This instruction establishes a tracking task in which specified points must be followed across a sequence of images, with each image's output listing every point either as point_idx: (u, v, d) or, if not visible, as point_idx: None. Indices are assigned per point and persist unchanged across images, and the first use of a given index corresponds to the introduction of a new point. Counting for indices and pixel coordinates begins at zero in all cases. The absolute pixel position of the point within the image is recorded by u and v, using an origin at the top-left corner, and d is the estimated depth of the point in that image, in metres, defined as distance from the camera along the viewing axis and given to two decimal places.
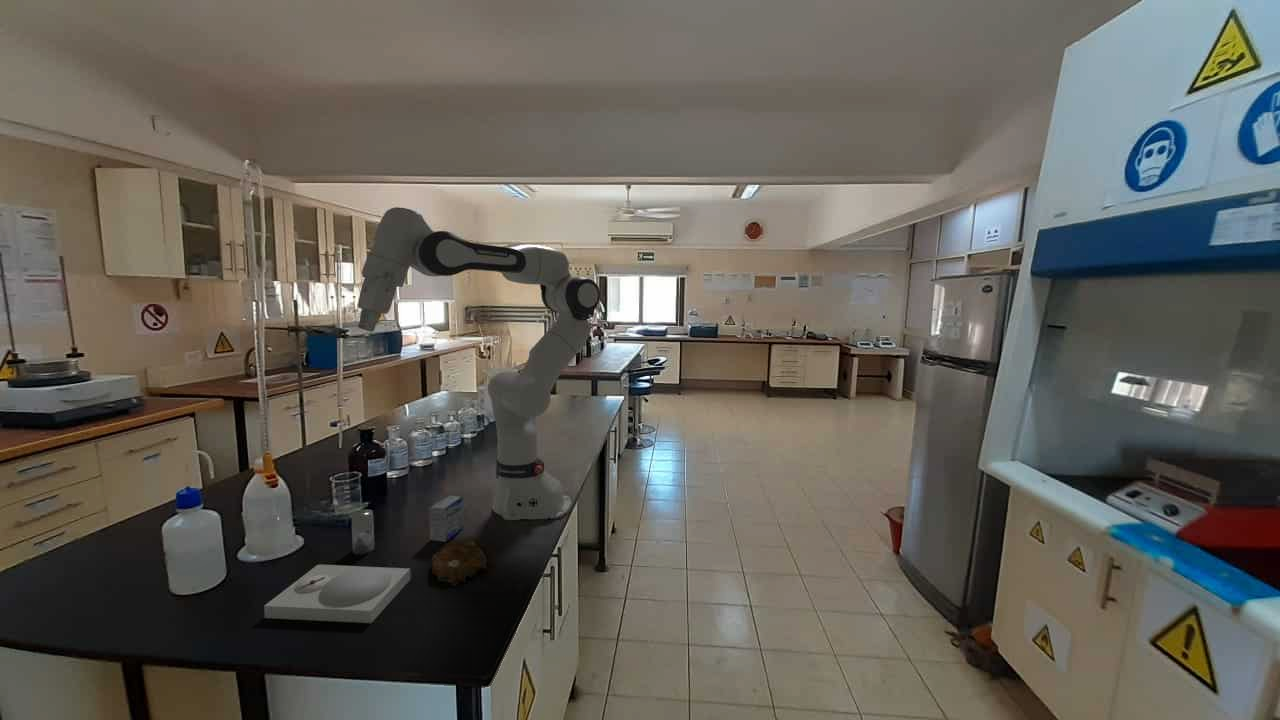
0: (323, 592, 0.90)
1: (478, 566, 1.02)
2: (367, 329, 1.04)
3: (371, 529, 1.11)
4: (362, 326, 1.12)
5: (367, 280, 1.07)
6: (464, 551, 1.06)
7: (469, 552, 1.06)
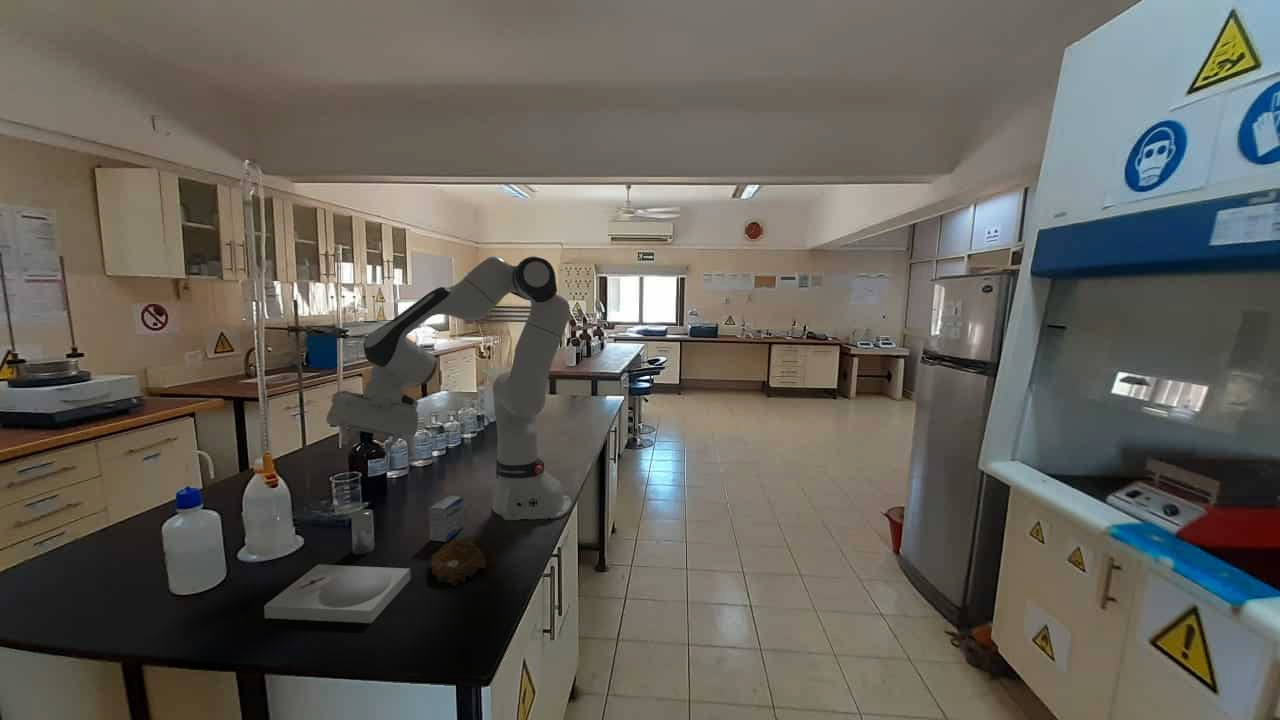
0: (323, 592, 0.90)
1: (478, 566, 1.02)
2: None
3: (371, 529, 1.11)
4: (384, 448, 1.17)
5: None
6: (463, 551, 1.06)
7: (468, 552, 1.06)
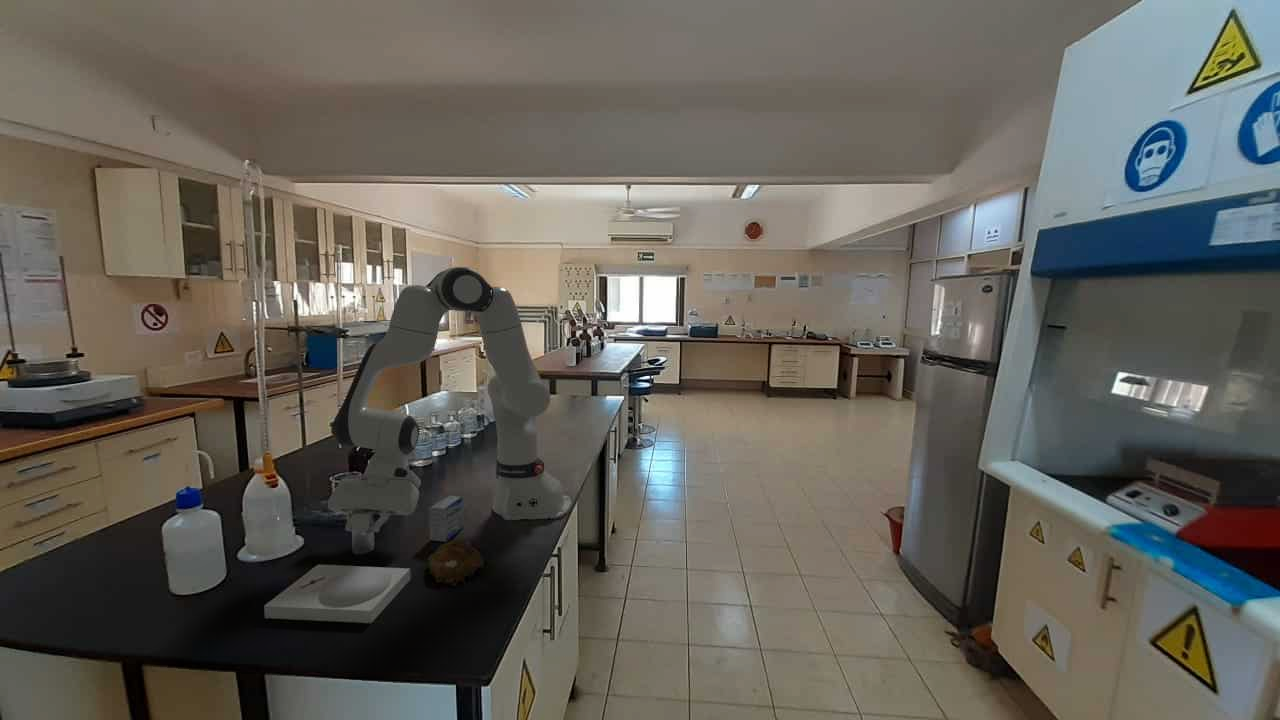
0: (323, 592, 0.90)
1: (476, 565, 1.02)
2: None
3: None
4: None
5: None
6: (460, 551, 1.06)
7: (465, 552, 1.06)
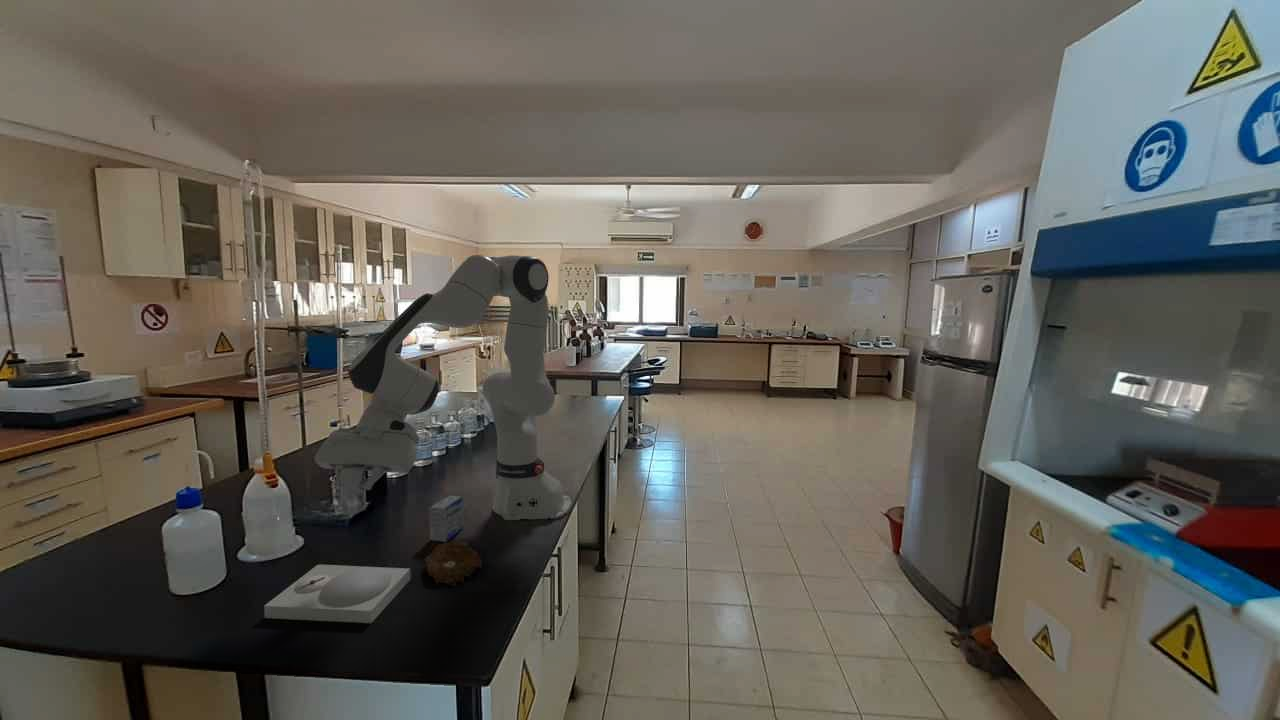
0: (323, 592, 0.90)
1: (475, 565, 1.02)
2: None
3: None
4: None
5: None
6: (458, 552, 1.06)
7: (463, 552, 1.06)
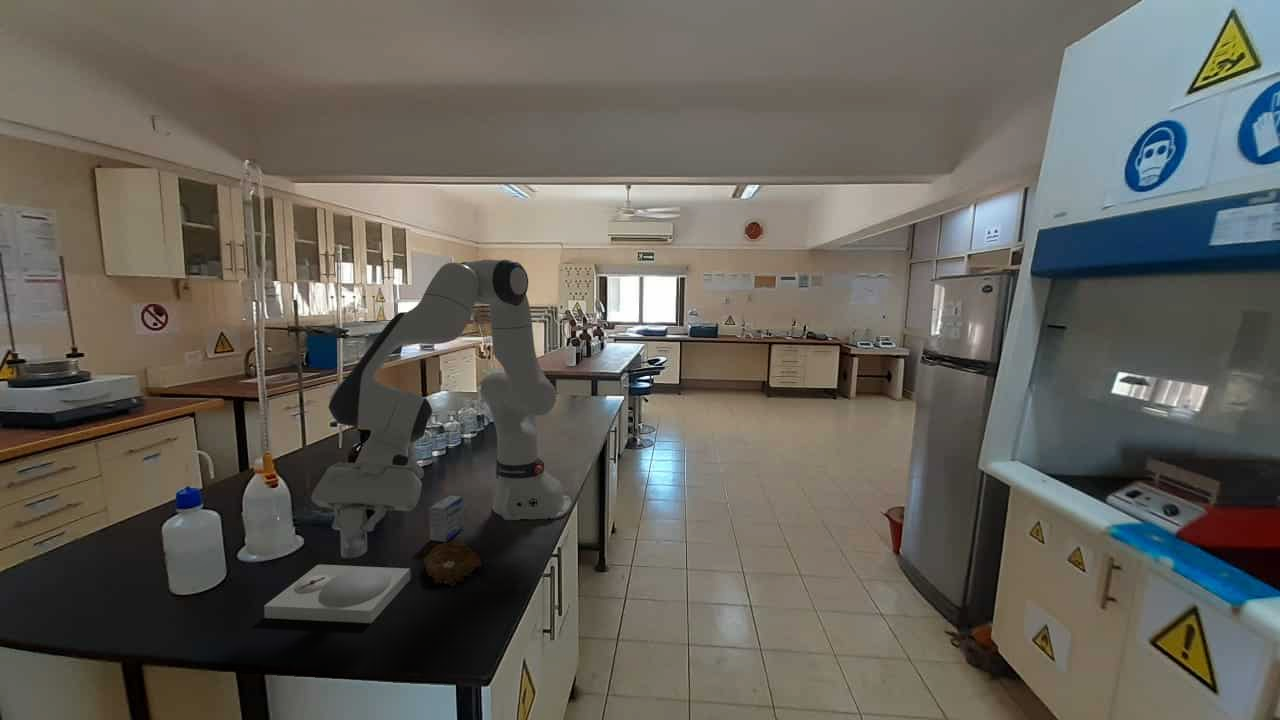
0: (323, 592, 0.90)
1: (475, 565, 1.02)
2: None
3: None
4: None
5: None
6: (457, 552, 1.06)
7: (462, 552, 1.06)
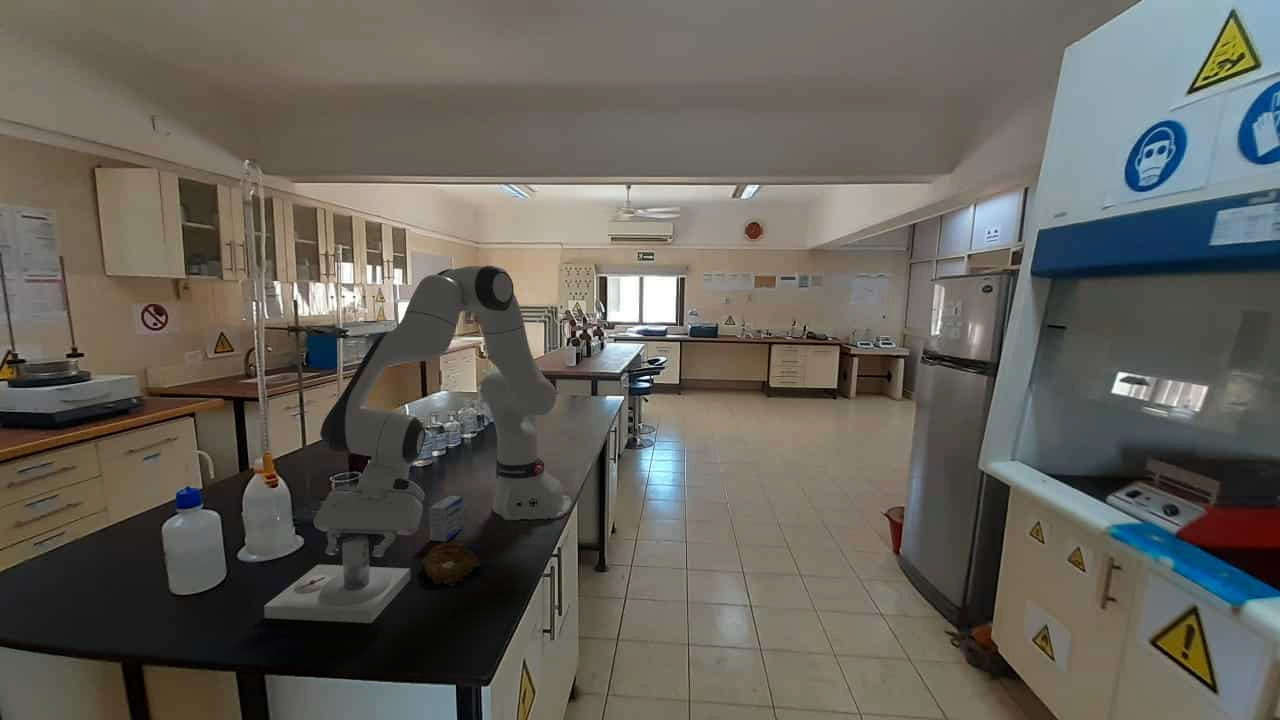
0: (323, 592, 0.90)
1: (474, 565, 1.02)
2: None
3: (366, 560, 0.93)
4: None
5: None
6: (455, 552, 1.06)
7: (461, 552, 1.06)
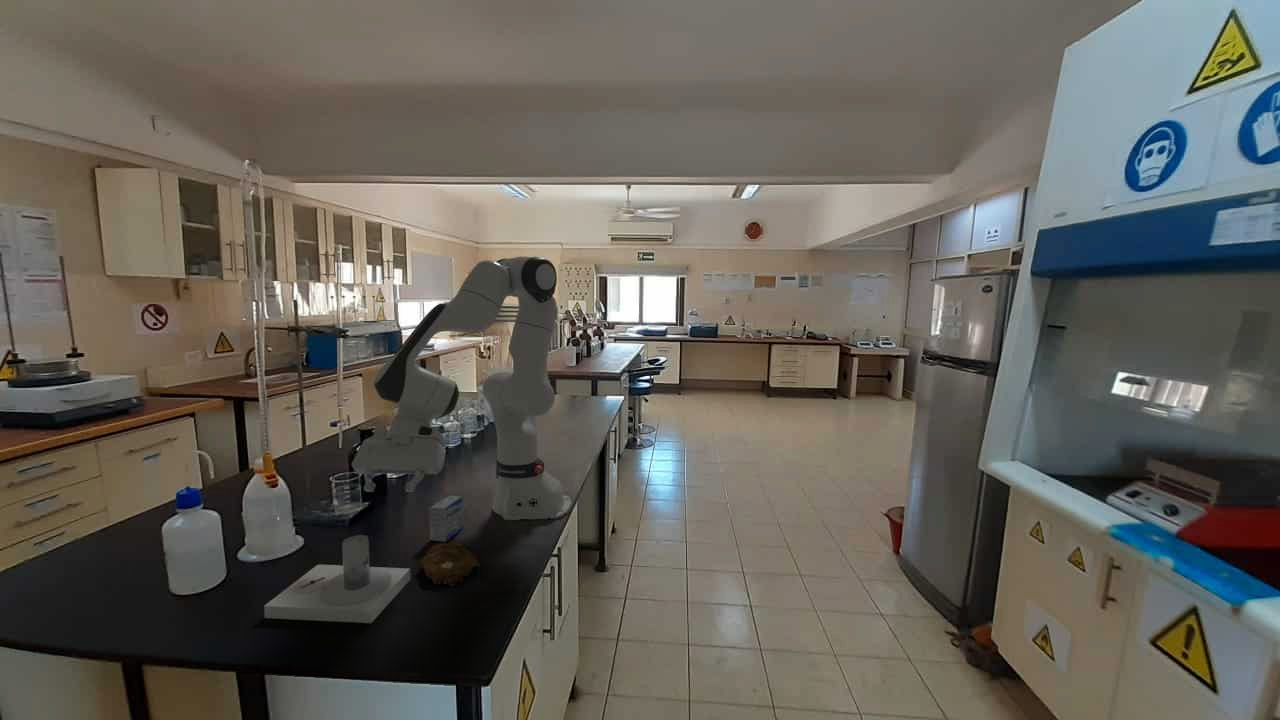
0: (323, 592, 0.90)
1: (473, 564, 1.02)
2: None
3: (366, 560, 0.93)
4: None
5: None
6: (454, 552, 1.05)
7: (459, 553, 1.06)
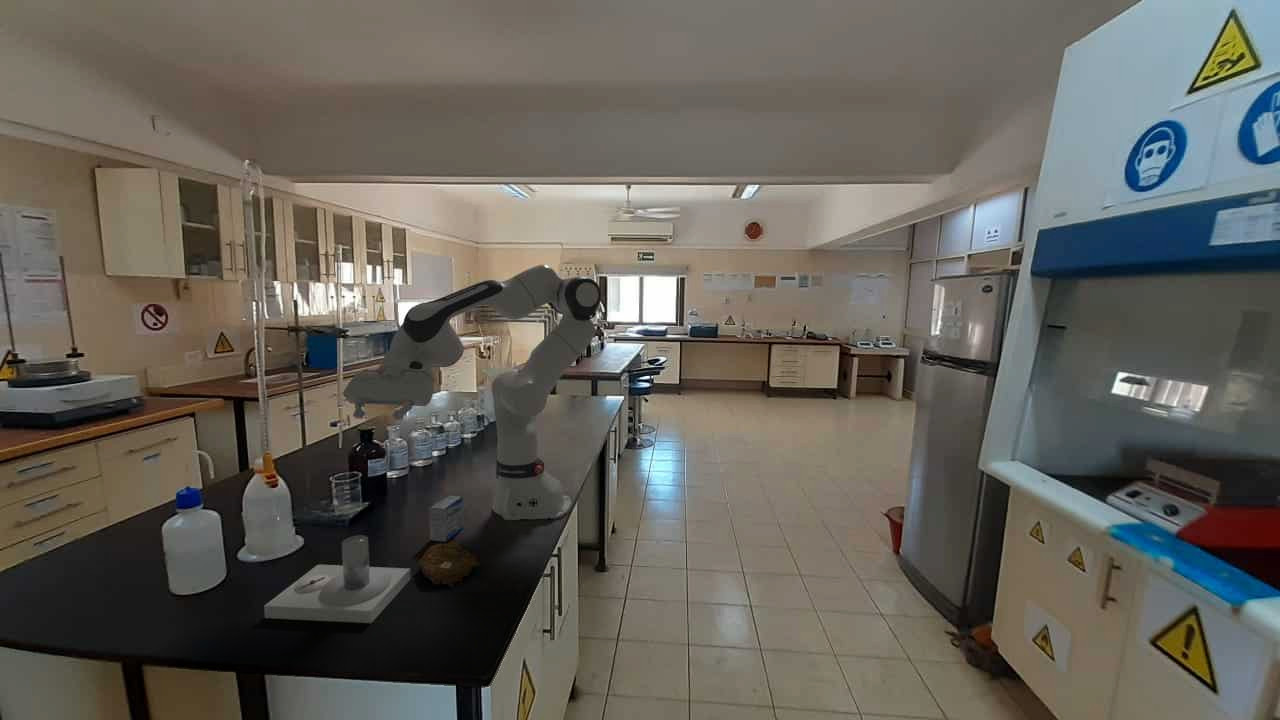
0: (323, 592, 0.90)
1: (472, 564, 1.02)
2: None
3: (366, 560, 0.93)
4: None
5: None
6: (452, 552, 1.05)
7: (457, 553, 1.06)
